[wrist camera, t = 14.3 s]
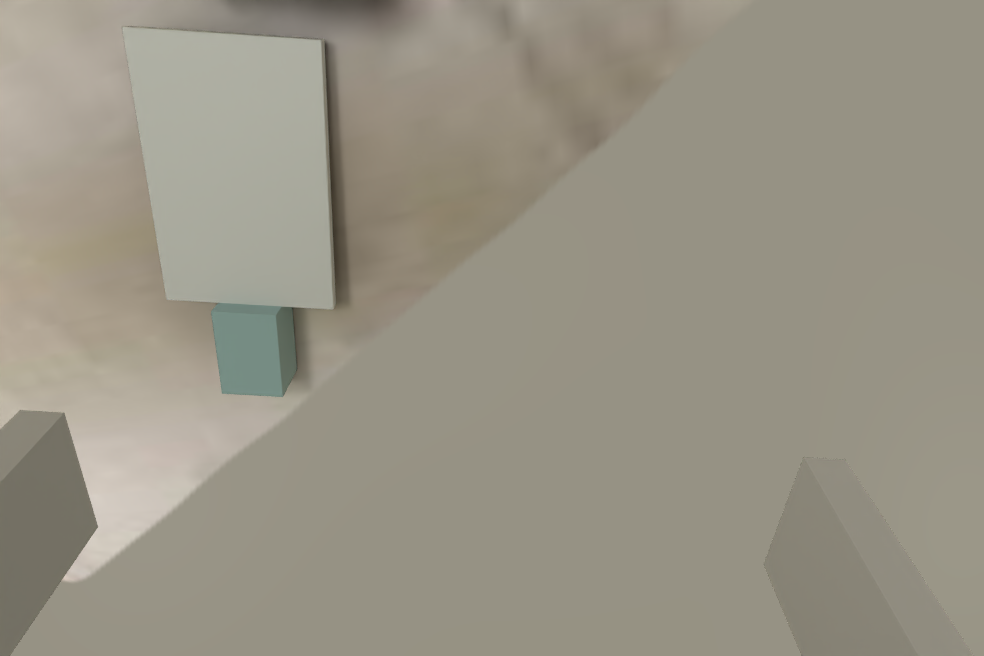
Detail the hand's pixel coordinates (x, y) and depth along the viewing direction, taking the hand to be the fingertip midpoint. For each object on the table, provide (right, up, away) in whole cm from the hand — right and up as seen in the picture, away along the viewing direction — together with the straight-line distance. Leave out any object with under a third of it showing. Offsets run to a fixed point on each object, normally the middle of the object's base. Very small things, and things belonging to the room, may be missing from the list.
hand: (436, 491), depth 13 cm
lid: (-14, +10, +31) cm, 36 cm away
